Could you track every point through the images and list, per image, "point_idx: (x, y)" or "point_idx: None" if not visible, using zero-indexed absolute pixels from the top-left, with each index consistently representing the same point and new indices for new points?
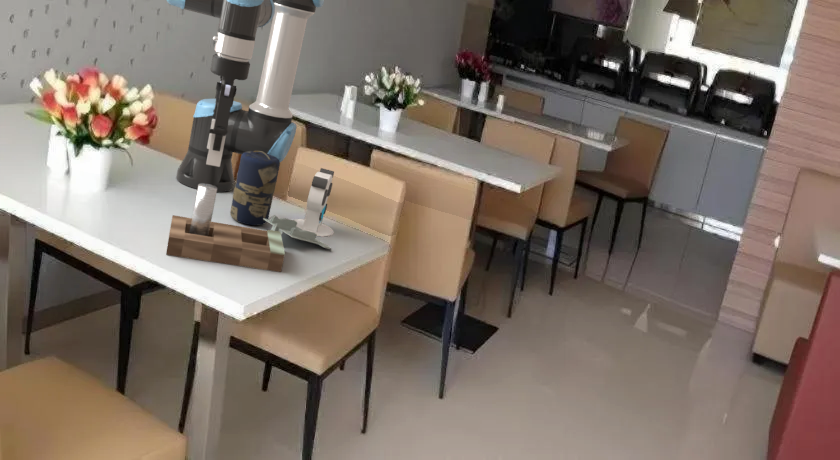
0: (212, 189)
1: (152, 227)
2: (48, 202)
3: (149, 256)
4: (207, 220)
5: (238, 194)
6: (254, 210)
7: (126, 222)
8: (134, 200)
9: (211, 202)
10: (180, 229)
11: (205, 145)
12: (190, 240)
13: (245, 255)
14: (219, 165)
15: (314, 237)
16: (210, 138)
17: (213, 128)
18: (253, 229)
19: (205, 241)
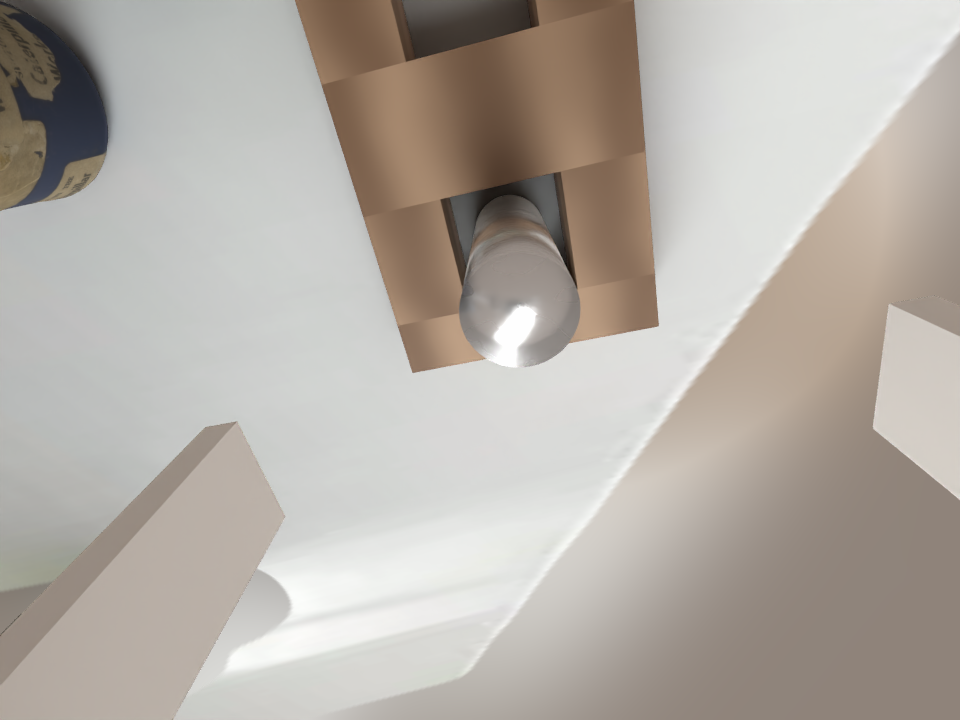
0: (560, 275)
1: (419, 397)
2: (430, 623)
3: (678, 340)
4: (544, 227)
5: (2, 181)
6: (33, 65)
7: (433, 463)
8: None
9: (550, 246)
10: None
11: None
12: (652, 249)
13: None
14: (944, 306)
15: None
16: (228, 589)
17: (147, 711)
18: (311, 6)
19: (633, 191)
